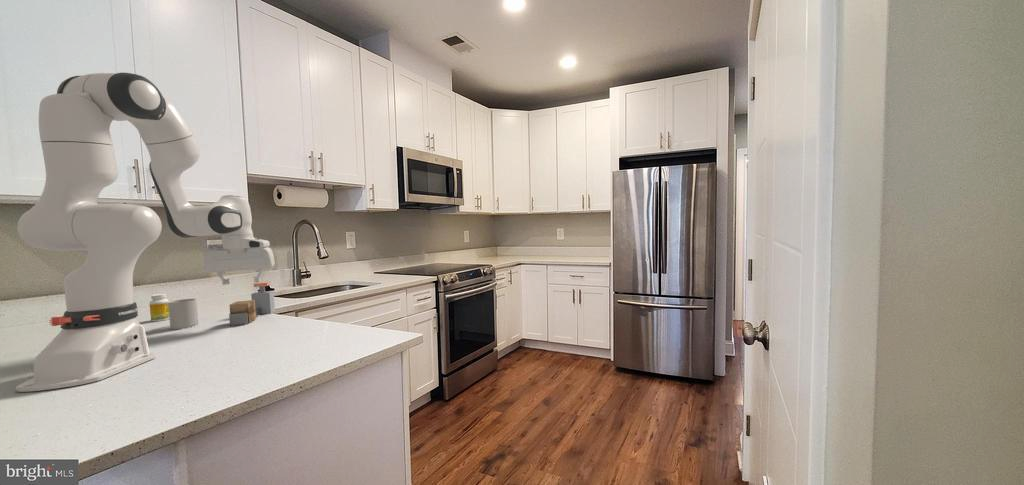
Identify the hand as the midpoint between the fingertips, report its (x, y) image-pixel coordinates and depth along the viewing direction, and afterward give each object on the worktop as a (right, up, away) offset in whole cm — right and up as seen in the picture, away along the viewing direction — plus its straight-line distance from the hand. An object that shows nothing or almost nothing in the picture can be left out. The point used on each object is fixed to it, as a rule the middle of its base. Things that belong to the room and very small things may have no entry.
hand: (242, 283), depth 130 cm
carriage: (+1, -14, 0) cm, 14 cm away
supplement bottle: (-37, -15, +10) cm, 42 cm away
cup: (-19, -15, -2) cm, 24 cm away
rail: (-1, -14, +4) cm, 14 cm away
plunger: (-2, -7, +14) cm, 16 cm away
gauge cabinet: (-2, -13, +14) cm, 19 cm away
